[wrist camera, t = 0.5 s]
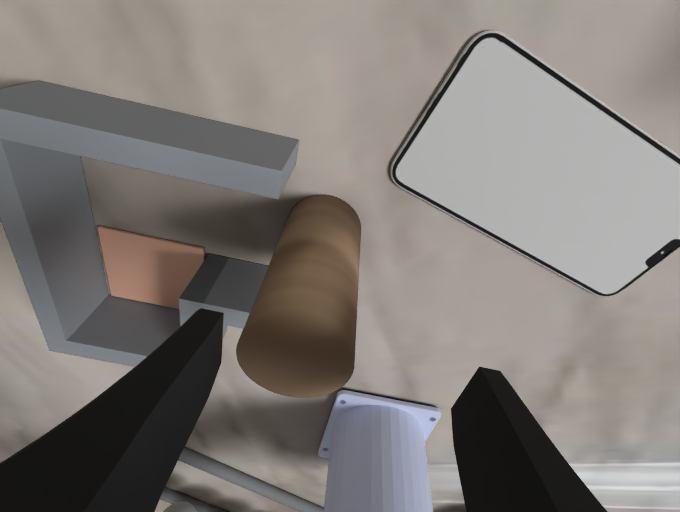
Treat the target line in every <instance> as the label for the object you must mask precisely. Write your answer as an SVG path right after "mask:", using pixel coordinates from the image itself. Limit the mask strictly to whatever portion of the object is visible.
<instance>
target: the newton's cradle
mask: <svg viewBox="0 0 680 512" xmlns="http://www.w3.org/2000/svg"><path fill="white" fill-rule="evenodd" d="M178 460H179V461H182V462H184V463H186V464H189V465H191V466H193V467H196V468H198V469H201V470H203V471H205V472H208V473H210V474H212V475H215V476H217V477H219V478H222V479H224V480H227V481H229V482H231V483H234V484H236V485H238V486H241V487H243V488H245V489H248V490H250V491H253V492H255V493H257V494H260V495H262V496H264V497H267V498H269V499H271V500H274V501H276V502H279V503H281V504H283V505H286V506H288V507H290V508H293V509H295V510H297V511H300V512H324V508H323V507H321V506H318V505H316V504H314V503H311V502H309V501H307V500H305V499H302V498H300V497H298V496H295V495H293V494H291V493H289V492H286V491H284V490H282V489H279V488H277V487H275V486H273V485H270V484H268V483H266V482H263V481H261V480H259V479H257V478H254V477H252V476H250V475H247V474H245V473H243V472H241V471H238V470H236V469H234V468H231V467H229V466H227V465H225V464H222V463H220V462H218V461H215V460H213V459H211V458H209V457H206V456H204V455H202V454H199V453H197V452H195V451H193V450H190V449H188V448H186V447H184V449H183V451H182V453H181V455H180V457H179V459H178ZM160 499H161V500H163V501H166V502H168V503H171V504H172V505H170V506H169V507H168V508H167V509H166V510H165V511H164V512H227V511H225V510H222V509H220V508H217V507H215V506H212V505H209V504H207V503H204V502H202V501H199V500H197V499H194V498H192V497H189V496H187V495H184V494H181V493H179V492H176V491H174V490H171V489H169V488H166V487H165V488H164V490H163V492H162V495H161V497H160Z"/></svg>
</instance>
